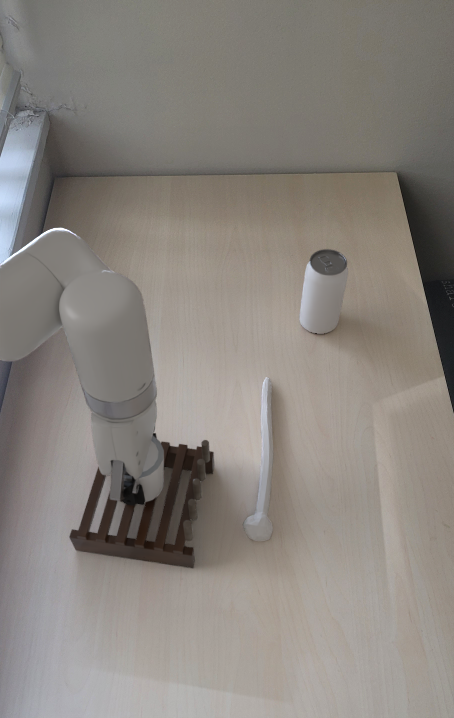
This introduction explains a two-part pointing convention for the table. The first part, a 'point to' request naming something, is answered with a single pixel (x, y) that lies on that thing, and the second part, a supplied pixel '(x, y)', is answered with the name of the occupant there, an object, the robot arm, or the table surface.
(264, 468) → the white spoon
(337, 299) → the can
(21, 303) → the robot arm
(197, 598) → the table surface
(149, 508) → the rack
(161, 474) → the white cup
